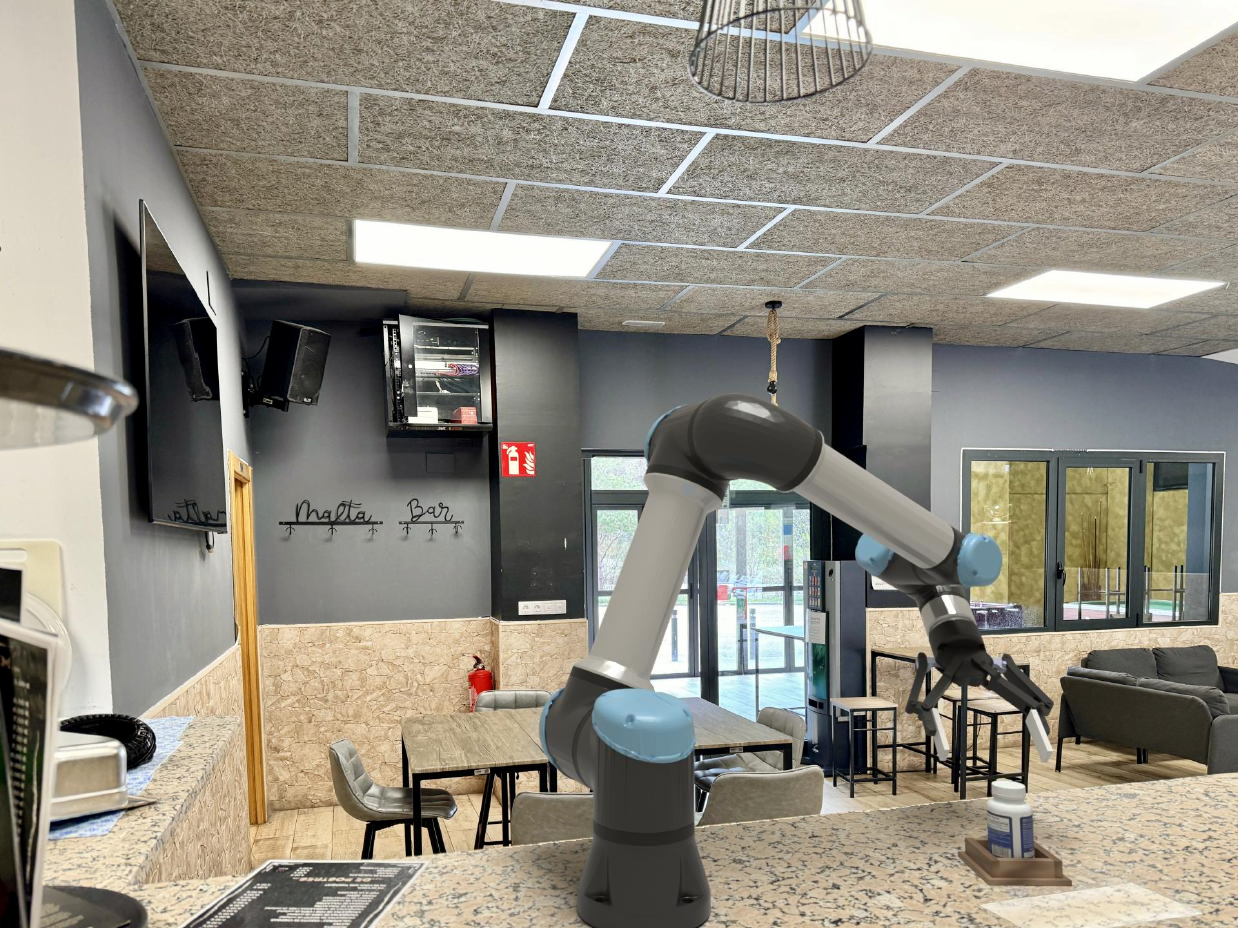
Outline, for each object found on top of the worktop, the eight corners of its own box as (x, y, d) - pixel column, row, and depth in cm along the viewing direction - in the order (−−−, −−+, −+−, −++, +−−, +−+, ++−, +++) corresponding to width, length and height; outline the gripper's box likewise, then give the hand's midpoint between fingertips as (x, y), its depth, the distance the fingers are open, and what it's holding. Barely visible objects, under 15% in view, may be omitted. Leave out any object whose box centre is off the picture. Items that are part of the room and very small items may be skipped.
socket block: (988, 884, 103) (987, 862, 104) (958, 855, 113) (957, 835, 114) (1072, 885, 103) (1070, 863, 103) (1033, 856, 113) (1032, 836, 113)
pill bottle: (1025, 856, 111) (1022, 779, 112) (1041, 871, 105) (1038, 790, 106) (982, 854, 111) (979, 778, 112) (996, 869, 106) (993, 789, 107)
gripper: (1028, 649, 133) (1081, 772, 116) (867, 647, 134) (897, 769, 117) (1042, 617, 128) (1099, 741, 112) (875, 615, 129) (907, 738, 113)
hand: (996, 756), depth 114 cm, fingers open, 13 cm apart
